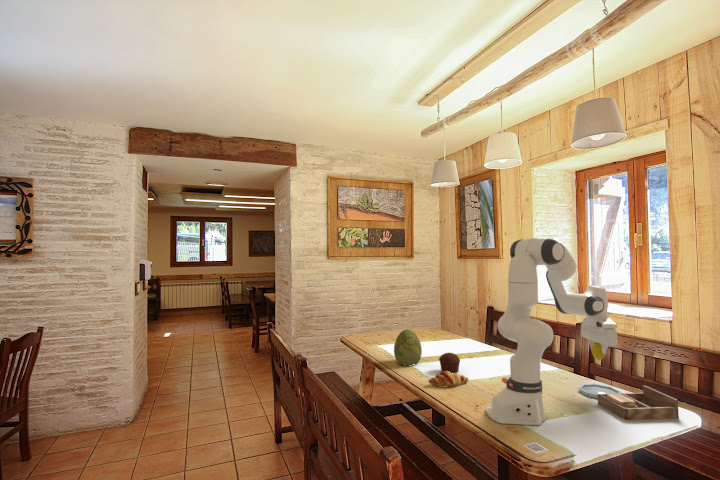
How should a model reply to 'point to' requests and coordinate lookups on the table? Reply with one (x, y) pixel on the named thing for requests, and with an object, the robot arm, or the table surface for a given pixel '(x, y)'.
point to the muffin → (449, 362)
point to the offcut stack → (622, 400)
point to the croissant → (448, 379)
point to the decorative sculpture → (407, 348)
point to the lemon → (597, 351)
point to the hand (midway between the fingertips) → (598, 351)
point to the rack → (643, 405)
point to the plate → (596, 390)
